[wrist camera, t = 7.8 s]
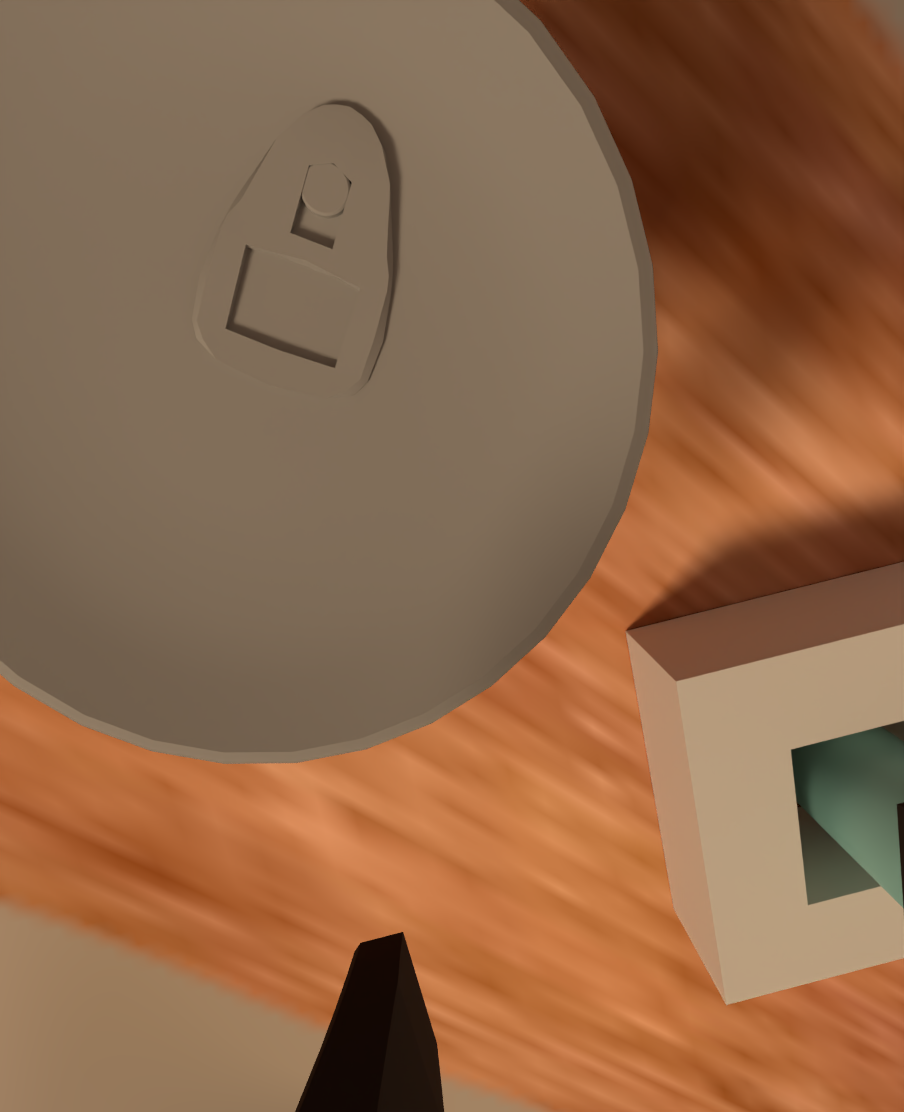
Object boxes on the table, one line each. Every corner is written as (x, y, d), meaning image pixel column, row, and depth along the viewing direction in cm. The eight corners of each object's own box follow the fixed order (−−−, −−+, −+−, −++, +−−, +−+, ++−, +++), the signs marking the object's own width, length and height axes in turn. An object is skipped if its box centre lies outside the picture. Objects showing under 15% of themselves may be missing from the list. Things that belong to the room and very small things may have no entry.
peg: (849, 678, 20) (1143, 858, 12) (857, 768, 20) (1139, 991, 13) (749, 705, 20) (980, 902, 12) (761, 794, 20) (986, 1034, 13)
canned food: (513, 249, 16) (728, -88, 5) (488, 560, 18) (613, 784, 7) (198, 221, 15) (-282, -227, 5) (203, 546, 17) (-142, 768, 6)
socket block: (951, 549, 19) (1072, 581, 16) (961, 833, 21) (1068, 913, 18) (625, 631, 19) (675, 681, 15) (673, 908, 21) (726, 1004, 18)
